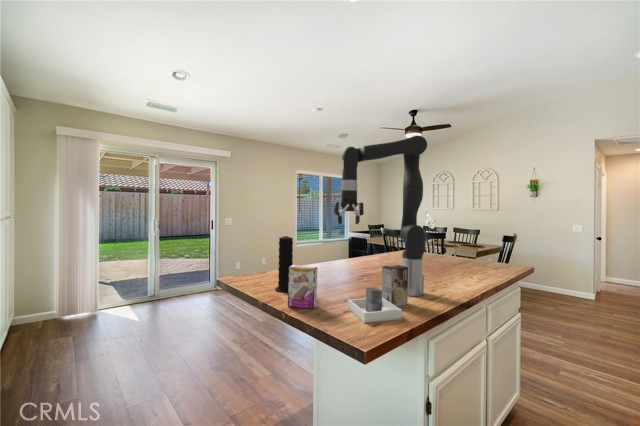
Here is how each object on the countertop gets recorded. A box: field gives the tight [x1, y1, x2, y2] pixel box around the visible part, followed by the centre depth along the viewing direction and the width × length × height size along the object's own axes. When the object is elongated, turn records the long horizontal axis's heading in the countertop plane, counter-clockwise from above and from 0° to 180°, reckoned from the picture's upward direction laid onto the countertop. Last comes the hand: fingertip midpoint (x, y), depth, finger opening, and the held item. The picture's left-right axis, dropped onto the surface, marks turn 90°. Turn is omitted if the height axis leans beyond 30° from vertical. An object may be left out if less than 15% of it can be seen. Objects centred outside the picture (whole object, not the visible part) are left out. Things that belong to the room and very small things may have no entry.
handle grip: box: [274, 235, 294, 294], centre depth 137 cm, size 10×26×10 cm
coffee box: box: [381, 264, 409, 307], centre depth 119 cm, size 9×6×16 cm
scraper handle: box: [365, 286, 382, 312], centre depth 108 cm, size 4×4×9 cm
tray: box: [347, 297, 403, 324], centre depth 108 cm, size 15×15×4 cm
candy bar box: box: [287, 264, 318, 310], centre depth 114 cm, size 11×5×16 cm, turn 78°
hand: (348, 224), depth 133 cm, fingers open, 8 cm apart
